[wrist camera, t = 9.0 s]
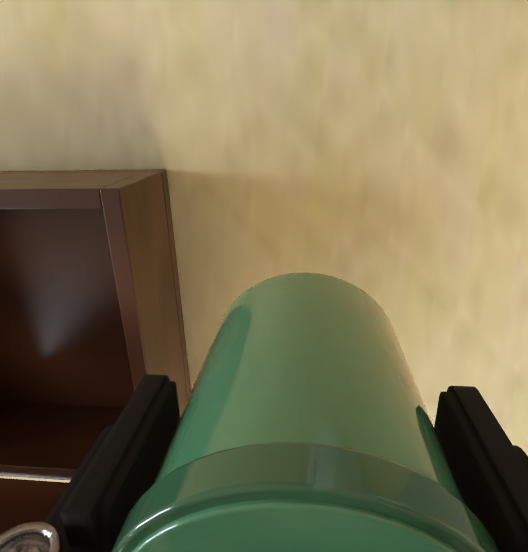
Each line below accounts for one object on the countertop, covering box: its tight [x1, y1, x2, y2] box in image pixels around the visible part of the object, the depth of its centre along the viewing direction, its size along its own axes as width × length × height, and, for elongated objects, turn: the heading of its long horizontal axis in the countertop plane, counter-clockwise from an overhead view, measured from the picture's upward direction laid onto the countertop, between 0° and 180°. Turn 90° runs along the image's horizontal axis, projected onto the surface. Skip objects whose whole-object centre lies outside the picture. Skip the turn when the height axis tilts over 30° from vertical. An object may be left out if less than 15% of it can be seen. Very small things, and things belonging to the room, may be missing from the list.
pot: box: [111, 273, 499, 552], centre depth 10 cm, size 6×6×8 cm
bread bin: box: [0, 169, 191, 480], centre depth 22 cm, size 16×14×6 cm
